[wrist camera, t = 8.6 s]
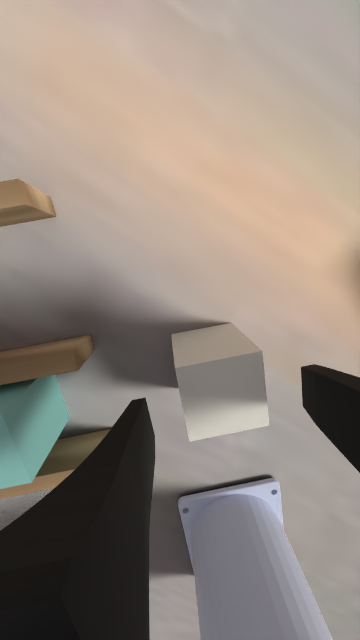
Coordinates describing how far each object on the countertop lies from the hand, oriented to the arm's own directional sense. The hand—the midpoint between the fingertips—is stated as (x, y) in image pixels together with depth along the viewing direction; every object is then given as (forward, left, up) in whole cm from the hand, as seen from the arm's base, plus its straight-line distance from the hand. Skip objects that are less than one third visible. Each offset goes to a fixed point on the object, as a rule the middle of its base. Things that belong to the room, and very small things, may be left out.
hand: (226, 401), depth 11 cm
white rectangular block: (0, 0, -5) cm, 5 cm away
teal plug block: (-1, +12, -5) cm, 13 cm away
